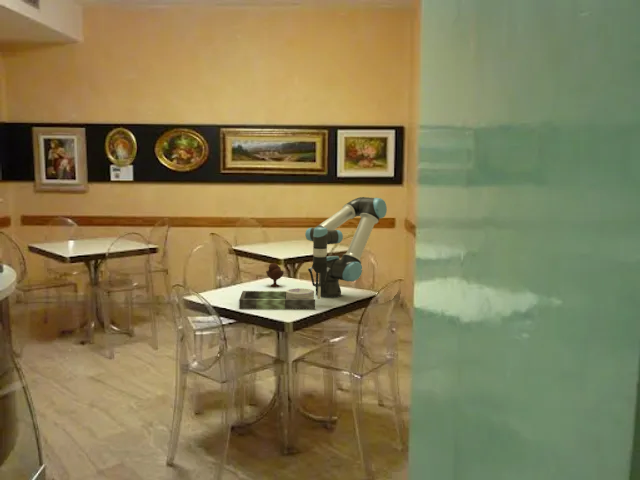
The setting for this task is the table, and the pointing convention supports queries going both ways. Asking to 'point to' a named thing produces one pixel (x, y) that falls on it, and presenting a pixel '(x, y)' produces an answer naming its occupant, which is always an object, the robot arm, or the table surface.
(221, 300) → the table surface
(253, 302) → the shallow tray
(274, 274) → the ice cream bowl
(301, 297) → the paper bowls
